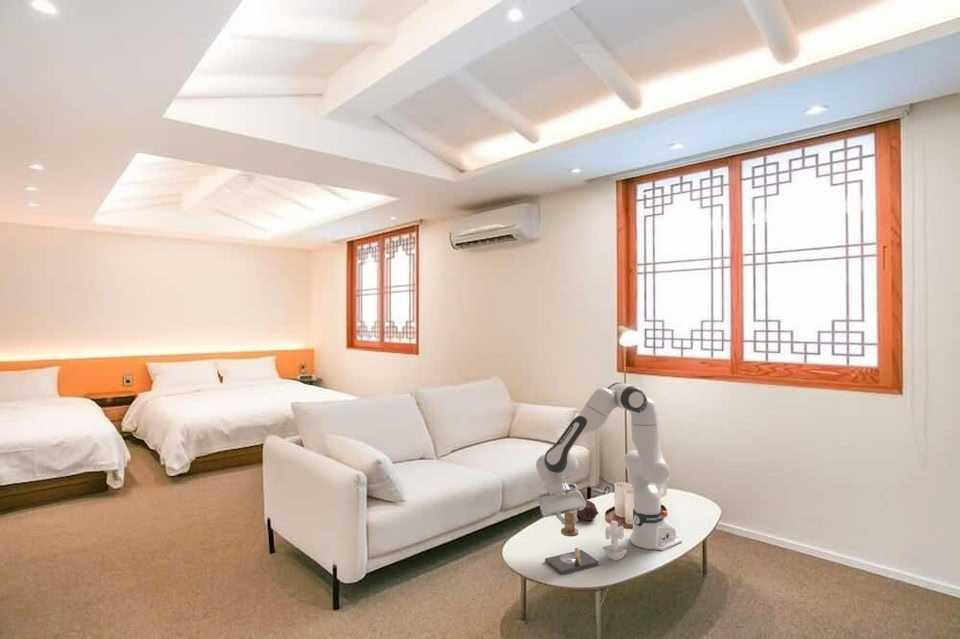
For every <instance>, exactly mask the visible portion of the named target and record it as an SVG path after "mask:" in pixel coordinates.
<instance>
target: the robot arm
mask: <svg viewBox="0 0 960 639" xmlns="http://www.w3.org/2000/svg"><path fill="white" fill-rule="evenodd" d="M616 408H620V409H622V410H626V411H629V412H630V417H631V418H630V419H631V421H630V422H631V440H632V442H633V444H634V446H635V449H636V450H634V449H632V450H630V451H627V452H626V454H625V456H624V458H623V459H624V460H623V464H624V466H625V468H626V470H627V472H628V474H629V475H628V476H629V479H630V482H631V487H632V491H633V492H632V493H633V509H632V518H633V521H632V522H633V523H632V531H631V537H630V543H632V544H633V545H634V546H636V547H639V548H643V549H648V550H657V551H661V552H662V551H665V550H667V549H670V548H671V547H674V546H676V545H678V544H681V543H682V541H683V540H682V538H681V537H680V536H679V535H677V532H676V529H675V526H674V525H672V524H671V523H670V522H669V521H667V520H666V519H665V518H664V517H668V515H669V513H668V511H665V510H661V495H660V492H659V491H660V490H659V489H658V487H657V486H656V485H663V484H666V482H667V481H668V480H669V478H670V476H671V469H670V467H669V465H668V464H667V462H666V460H665V457H664V455H663V452H662V449H661V446H660V441H659V426H658V424H659V423H658V415H657V409H656V405H655V402H654V401H653V400H652V399H651V398H649V397H646V394H645V392H644V391H643V390H642V388H640V387H638V386H635V385H633V384H630V383H623V382H614V383H613V384H611V385H609V386H608V387H598V388H597V389H595V390H594V392H593V393H592V394H591V395H590V397H589V398H588V399H587V401H586V402H585V404H584V406H583V408H582V409H581V411H579V414H578V415H576V417H574V419H572V421H571V422H570V423H569V425H568V426H567V427H566V428H565V430H564V432H563V433H562V434H561V436H560V437H559V438H558V440H557V441H556V443H554V445H552V446H551V447H550V448H549V449H548V450H547V451H546V452H545V454H543V455H541V456H540V457H539V458H538V459H536V463H535V467H536V471H537V474H538V477H539V479H540V481H541V483H542V484H543V489H544V491H545V493H540V494H538V496H537V498H536V500H537V503H538V504H539V508H540V512H541V515H542V516H543V518H548V517H549V518H550V517H554V516H555V517H556V518H557V520H559V521H560V522H561V524H562V525H565V524H566V523H567V521H566V518H565V517H563V516H562V515H565V514H564V512H565V511H567V510H570V511H574V519H575V523H577V522H578V521H579V517H578V516H577V511H579V510H583V509H584V508H585V507H586V502H585V500H586V499H585V497H584V496H583V494H582V492H581V491H580V490H578V486H577V484H575V483H570V482H569V483H568V482H566V481H564V479H568V478H570V477H572V476H574V475H576V474H577V473H578V471H579V468H580V462H579V460H578V458H577V456H575V455H573V454H572V453H570V451H571V450H572V448H573V447H574V445H575V444H576V443H577V441H578V440H579V438H580V437H581V436H583V435H585V434H588V433H594V432H598V431H599V430H601V429H602V428H603V426H605V424H606V423H607V420H608V419H609V417H610V415H611V413H612V412H613V411H614V409H616Z"/></svg>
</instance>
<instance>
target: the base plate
mask: <svg viewBox="0 0 960 639" xmlns="http://www.w3.org/2000/svg"><path fill="white" fill-rule="evenodd" d="M544 563H546V564H547V565H548V566H549V567H551V568H552V569H553V570H554V571H555V572H557V573H558V574H560V576H563V575H566V574H570V573H575V572H578V571H582V570H585V569H590V568H593V567H597V566H599V565H600V560H598V559H597V558H594V557H593V556H592V555H590V554H589V553H587V552H585V550H583V549H580V565H575V550H574V551H571V552H566V553H561V554H557V555H554V556H550V557H546V558H544Z"/></svg>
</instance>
